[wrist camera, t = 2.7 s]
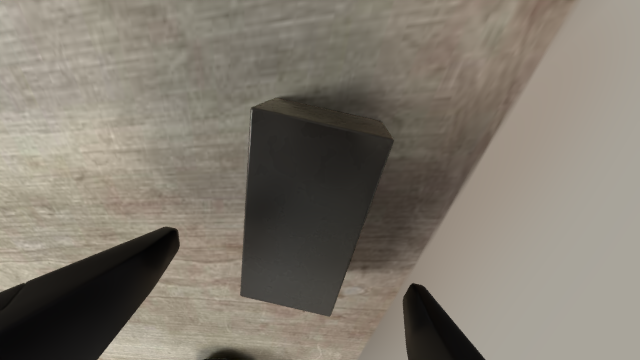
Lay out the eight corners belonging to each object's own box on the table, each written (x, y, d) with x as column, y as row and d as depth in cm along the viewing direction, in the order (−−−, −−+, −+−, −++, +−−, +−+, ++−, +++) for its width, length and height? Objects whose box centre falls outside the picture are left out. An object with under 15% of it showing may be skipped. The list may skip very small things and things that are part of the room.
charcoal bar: (275, 96, 10) (249, 106, 8) (382, 121, 10) (394, 139, 8) (259, 255, 15) (239, 296, 12) (333, 272, 15) (330, 317, 12)
